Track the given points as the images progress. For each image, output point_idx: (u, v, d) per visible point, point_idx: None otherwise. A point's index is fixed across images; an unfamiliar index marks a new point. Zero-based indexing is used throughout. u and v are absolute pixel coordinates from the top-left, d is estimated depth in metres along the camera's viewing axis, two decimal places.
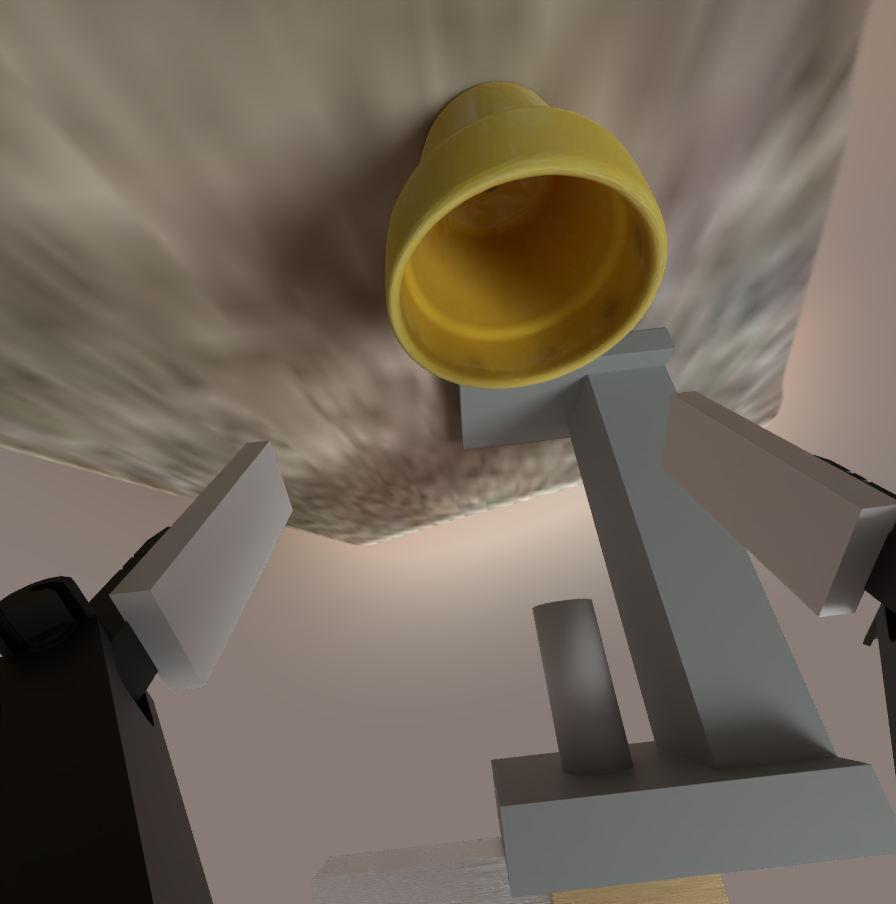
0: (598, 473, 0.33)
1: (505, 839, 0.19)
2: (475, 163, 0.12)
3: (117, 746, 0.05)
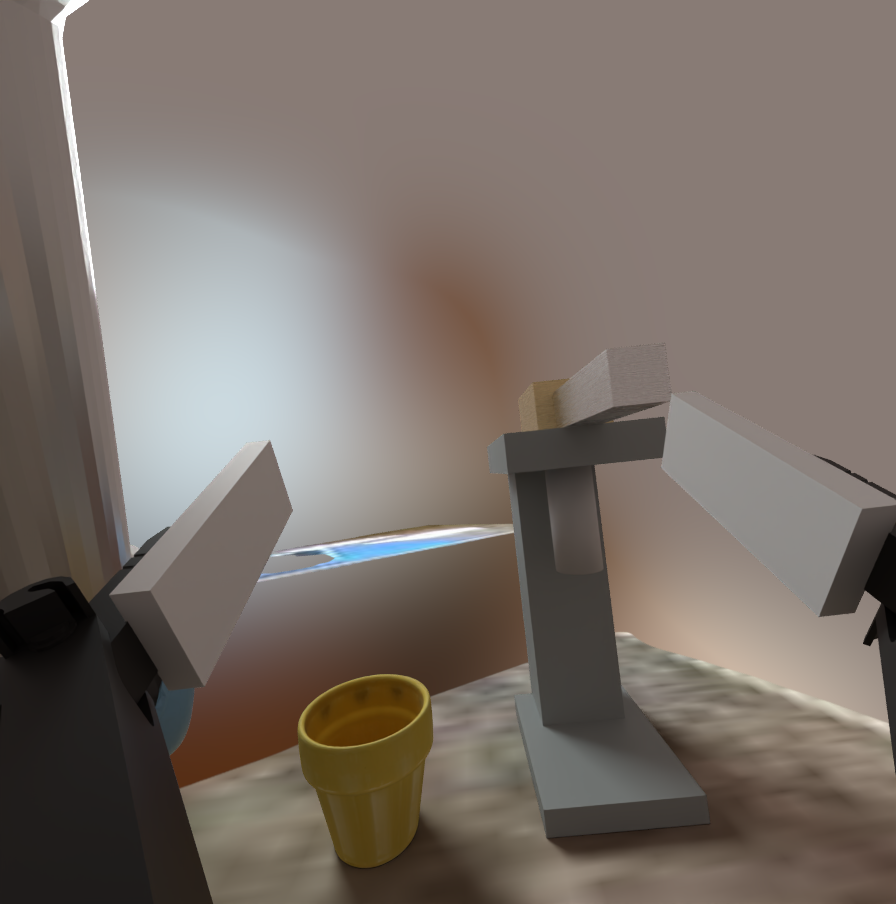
0: (575, 651, 0.41)
1: (505, 458, 0.31)
2: None
3: (117, 746, 0.05)
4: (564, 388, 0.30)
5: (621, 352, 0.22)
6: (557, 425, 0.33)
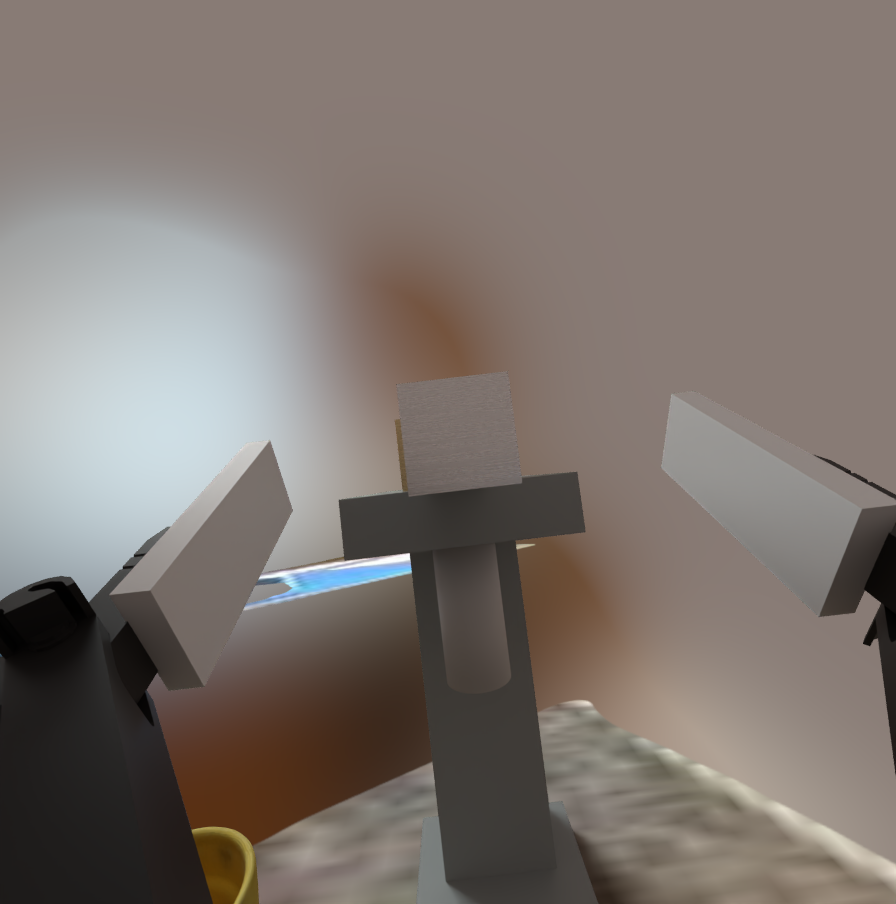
0: (489, 776, 0.30)
1: None
2: None
3: (117, 746, 0.05)
4: None
5: (425, 390, 0.11)
6: None
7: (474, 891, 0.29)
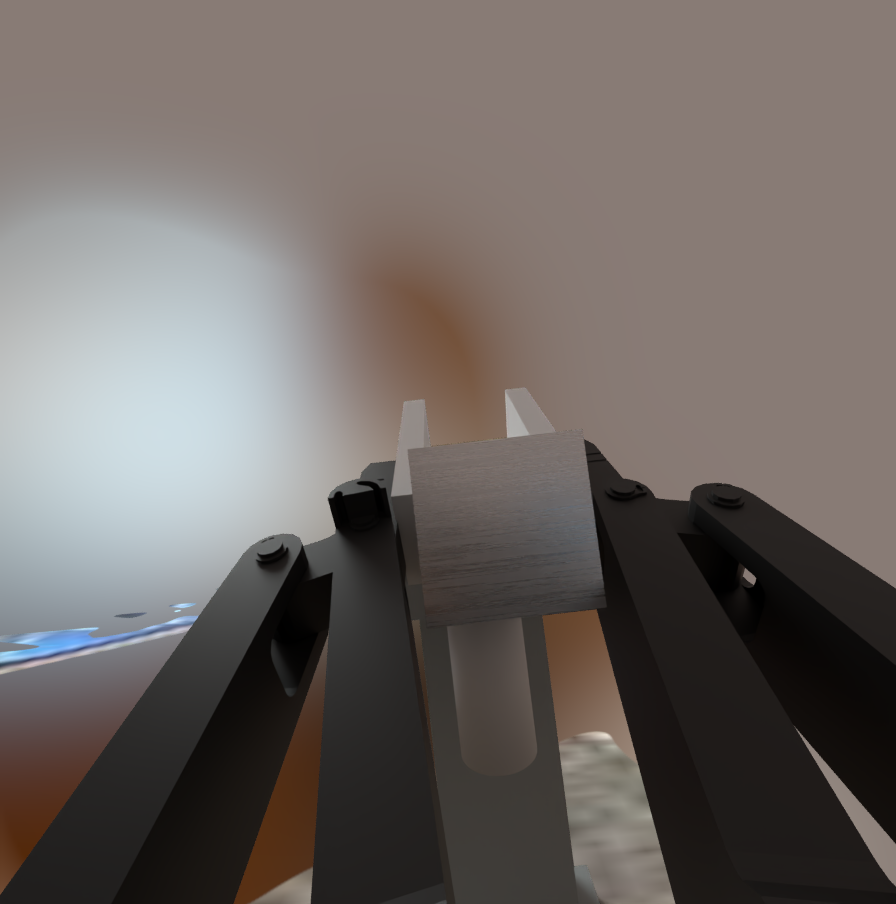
0: (507, 849, 0.27)
1: None
2: None
3: (404, 629, 0.06)
4: None
5: (453, 459, 0.07)
6: None
7: None
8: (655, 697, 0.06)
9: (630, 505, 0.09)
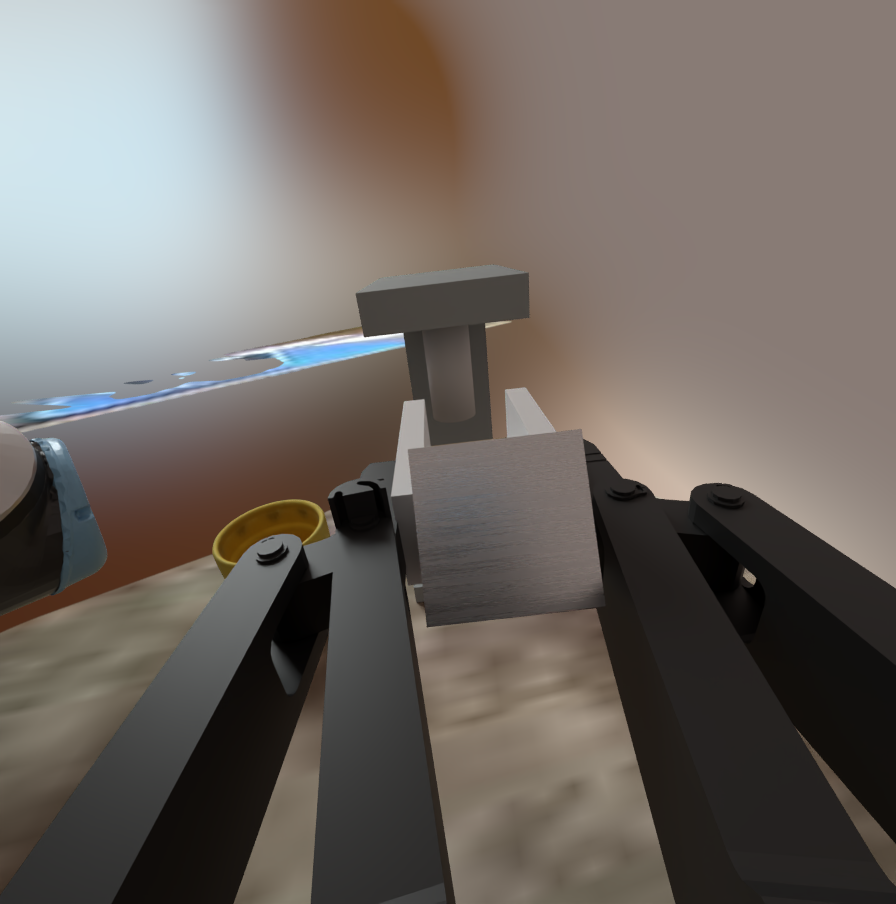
0: None
1: None
2: None
3: (404, 629, 0.06)
4: None
5: (453, 457, 0.07)
6: None
7: None
8: (656, 697, 0.06)
9: (630, 505, 0.09)
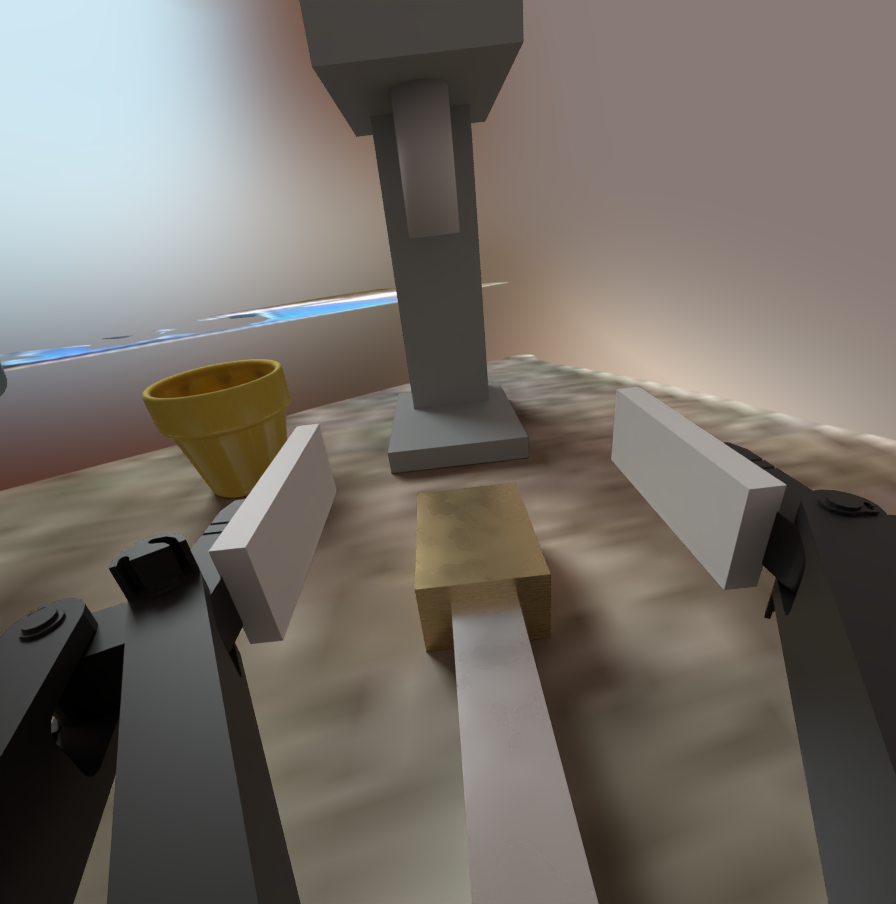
0: (444, 340, 0.42)
1: None
2: None
3: (217, 692, 0.06)
4: None
5: None
6: None
7: (433, 410, 0.44)
8: (853, 720, 0.05)
9: (852, 522, 0.07)
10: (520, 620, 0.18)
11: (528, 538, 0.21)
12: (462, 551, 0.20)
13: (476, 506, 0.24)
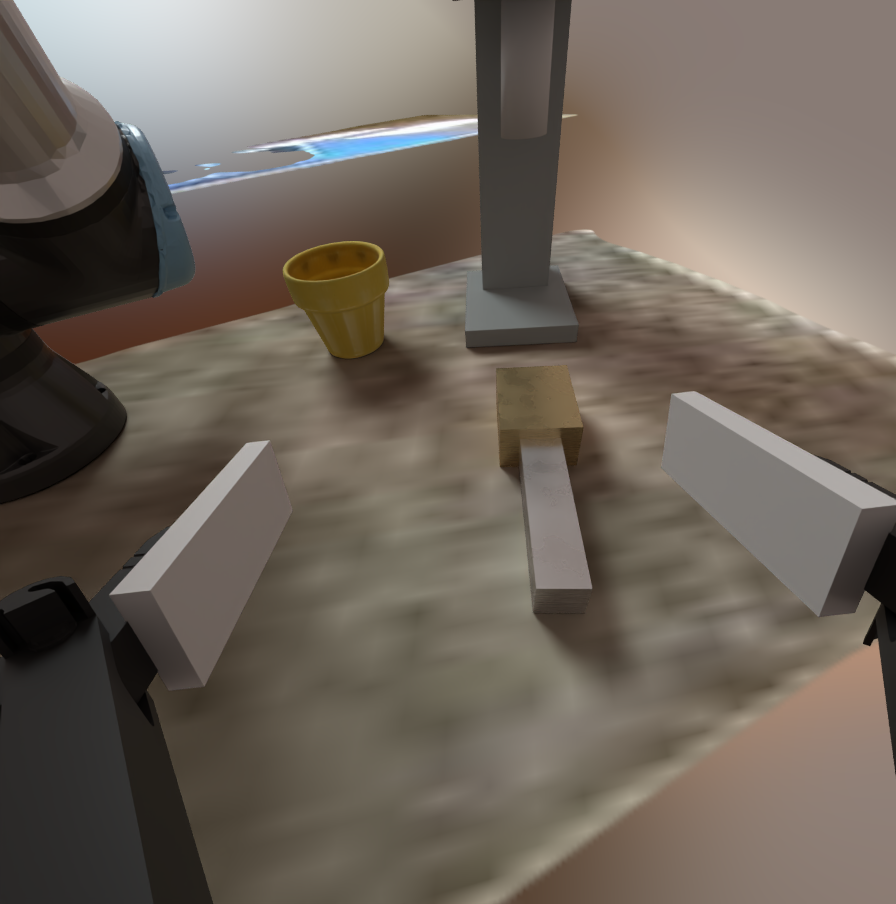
0: (516, 228, 0.47)
1: None
2: None
3: (117, 746, 0.05)
4: (523, 476, 0.29)
5: (549, 591, 0.23)
6: (519, 466, 0.33)
7: (499, 292, 0.51)
8: None
9: None
10: (561, 451, 0.30)
11: (571, 405, 0.32)
12: (528, 410, 0.32)
13: (537, 381, 0.35)
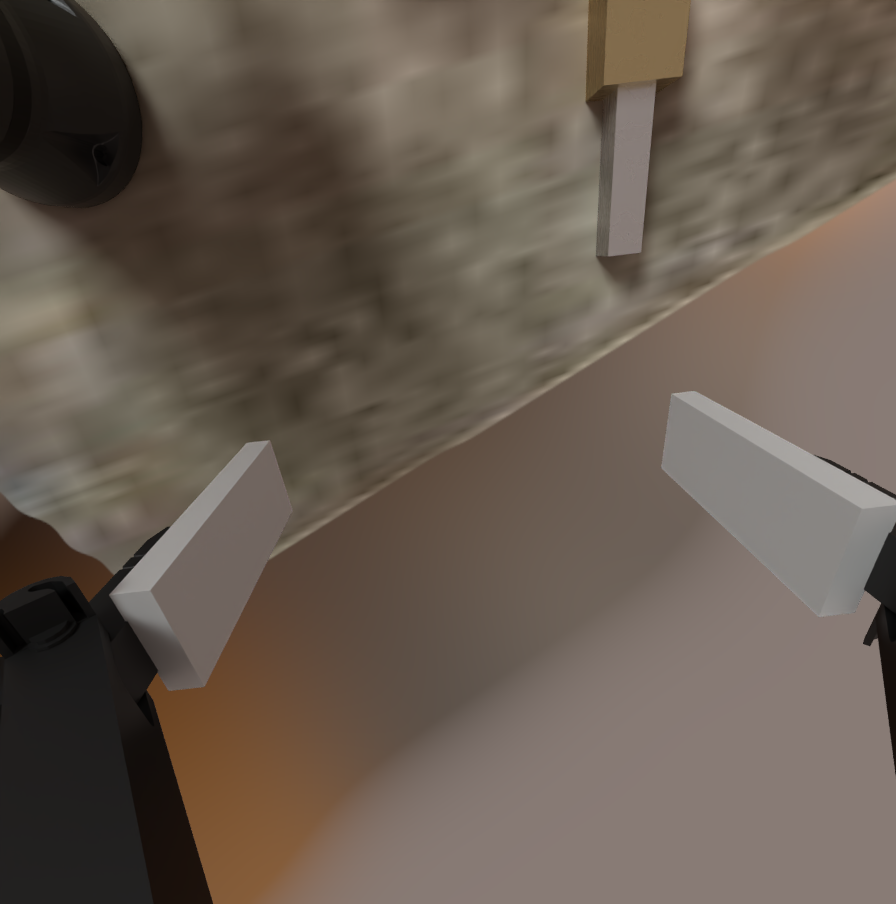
0: None
1: None
2: None
3: (117, 746, 0.05)
4: (613, 142, 0.35)
5: (615, 255, 0.38)
6: (604, 102, 0.35)
7: None
8: None
9: None
10: (652, 106, 0.33)
11: (681, 31, 0.31)
12: (636, 44, 0.31)
13: None
